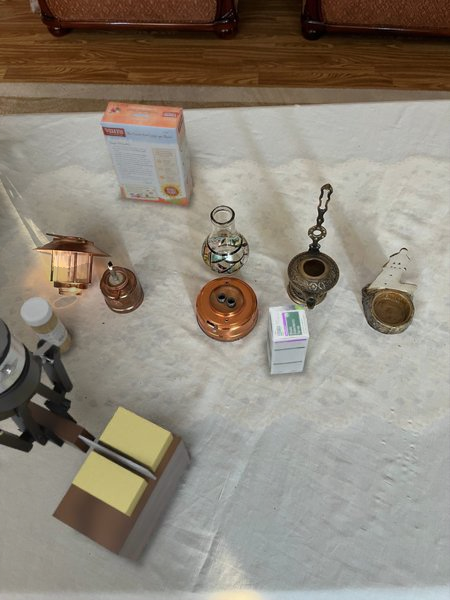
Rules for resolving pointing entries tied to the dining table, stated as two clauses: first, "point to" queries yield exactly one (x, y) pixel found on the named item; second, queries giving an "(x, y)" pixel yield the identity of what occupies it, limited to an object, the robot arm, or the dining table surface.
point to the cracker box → (149, 152)
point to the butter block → (136, 438)
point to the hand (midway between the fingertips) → (61, 430)
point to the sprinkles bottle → (45, 322)
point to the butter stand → (113, 523)
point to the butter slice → (110, 483)
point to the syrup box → (287, 338)
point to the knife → (76, 435)
